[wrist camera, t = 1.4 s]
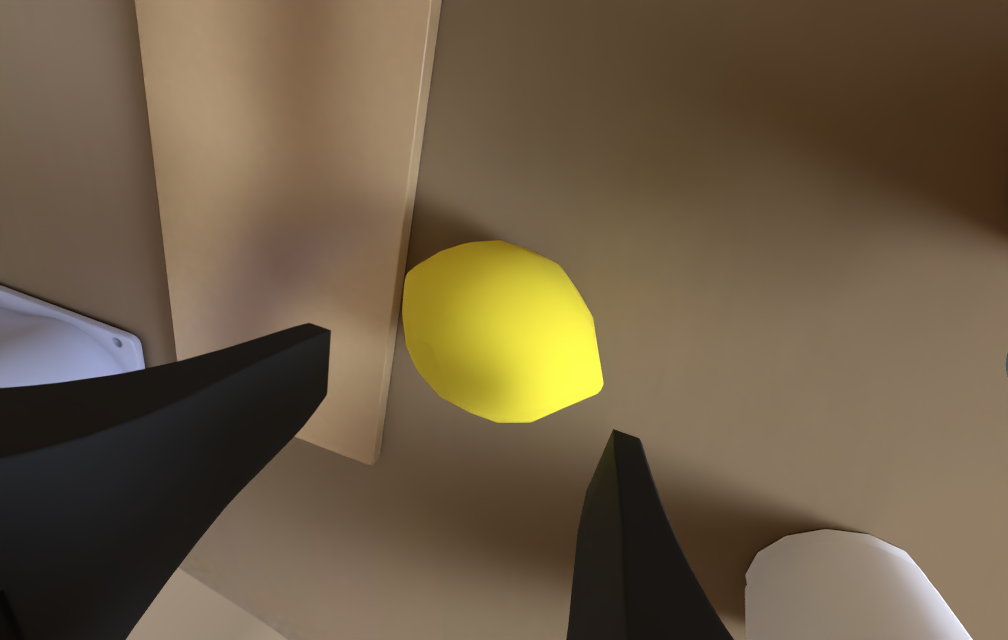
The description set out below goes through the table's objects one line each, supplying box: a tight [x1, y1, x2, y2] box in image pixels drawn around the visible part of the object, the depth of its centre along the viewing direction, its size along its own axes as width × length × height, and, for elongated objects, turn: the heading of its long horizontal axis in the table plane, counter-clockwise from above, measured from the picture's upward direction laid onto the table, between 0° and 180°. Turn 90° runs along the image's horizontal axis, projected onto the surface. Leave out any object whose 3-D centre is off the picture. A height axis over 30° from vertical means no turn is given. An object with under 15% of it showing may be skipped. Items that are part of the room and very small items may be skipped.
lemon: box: [402, 240, 603, 423], centre depth 16 cm, size 7×5×5 cm
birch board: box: [135, 0, 442, 466], centre depth 19 cm, size 10×20×1 cm, turn 168°
